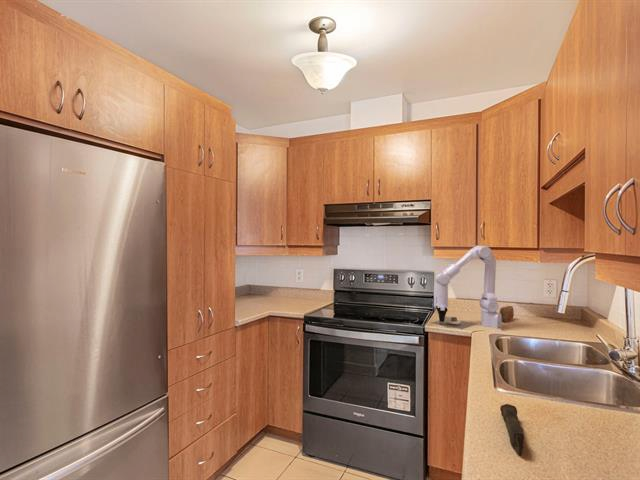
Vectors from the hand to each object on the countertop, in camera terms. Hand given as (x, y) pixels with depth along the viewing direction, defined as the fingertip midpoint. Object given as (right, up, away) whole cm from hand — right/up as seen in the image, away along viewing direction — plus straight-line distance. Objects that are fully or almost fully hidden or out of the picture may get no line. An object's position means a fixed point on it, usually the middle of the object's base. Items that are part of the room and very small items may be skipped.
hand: (441, 321), depth 198 cm
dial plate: (+8, -3, +4) cm, 9 cm away
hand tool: (-18, -4, -108) cm, 110 cm away
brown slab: (+43, -4, +18) cm, 47 cm away
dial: (+6, -2, +5) cm, 8 cm away
